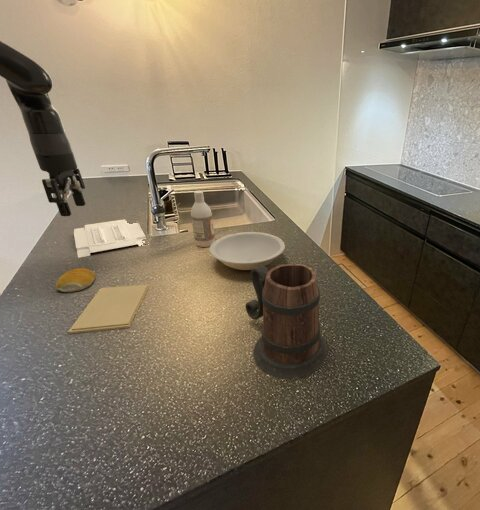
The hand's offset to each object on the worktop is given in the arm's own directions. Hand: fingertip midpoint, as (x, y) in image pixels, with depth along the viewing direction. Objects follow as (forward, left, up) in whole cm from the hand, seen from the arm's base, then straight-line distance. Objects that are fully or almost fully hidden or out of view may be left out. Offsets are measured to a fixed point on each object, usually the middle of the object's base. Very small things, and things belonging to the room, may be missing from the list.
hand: (74, 210), depth 86 cm
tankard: (+54, -43, -19) cm, 72 cm away
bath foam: (+31, +14, -19) cm, 39 cm away
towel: (+13, -23, -19) cm, 32 cm away
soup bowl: (+47, -3, -19) cm, 50 cm away
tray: (-3, +24, -19) cm, 30 cm away
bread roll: (0, -10, -19) cm, 21 cm away
